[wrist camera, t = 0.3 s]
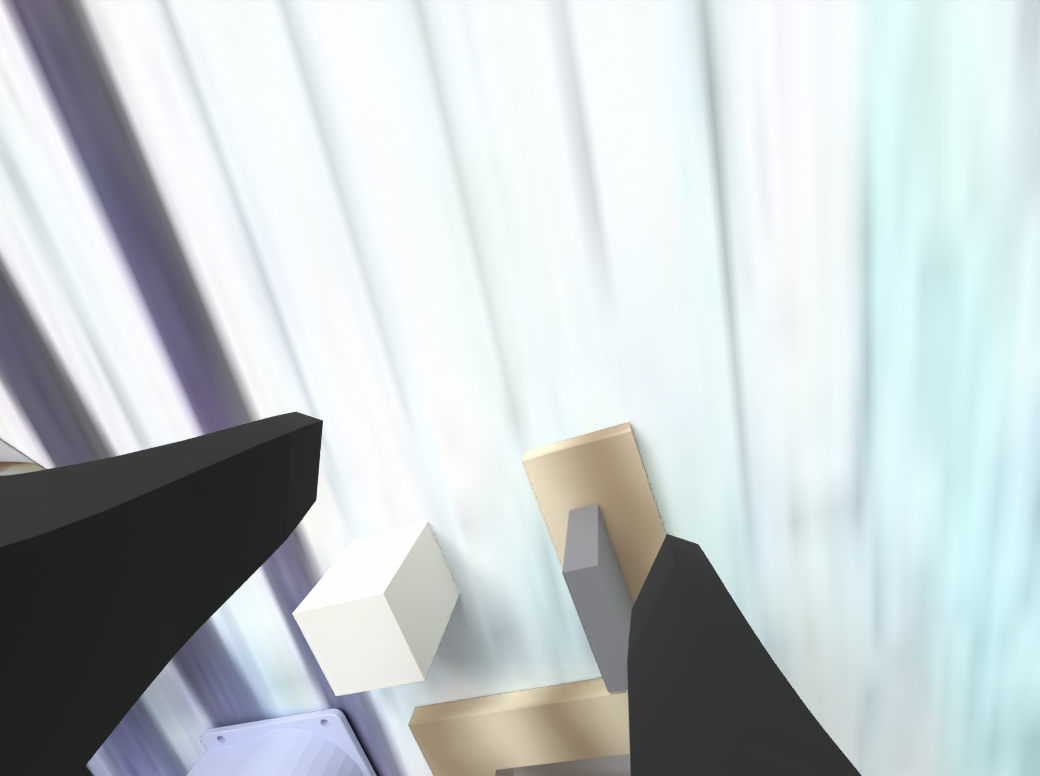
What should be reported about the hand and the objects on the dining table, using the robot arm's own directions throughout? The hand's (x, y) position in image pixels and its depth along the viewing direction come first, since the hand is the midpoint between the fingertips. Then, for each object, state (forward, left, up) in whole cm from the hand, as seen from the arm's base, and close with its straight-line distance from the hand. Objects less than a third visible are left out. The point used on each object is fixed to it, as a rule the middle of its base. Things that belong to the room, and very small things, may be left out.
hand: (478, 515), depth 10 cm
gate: (0, -12, -9) cm, 15 cm away
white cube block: (-9, -7, -11) cm, 16 cm away
